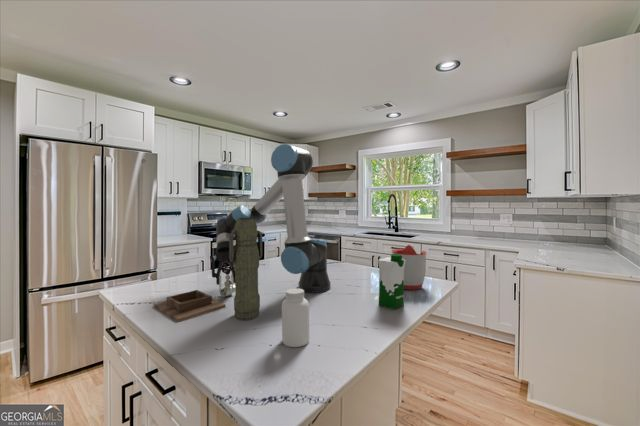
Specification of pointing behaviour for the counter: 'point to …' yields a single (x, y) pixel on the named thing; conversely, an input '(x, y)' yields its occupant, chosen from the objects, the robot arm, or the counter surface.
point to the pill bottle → (295, 318)
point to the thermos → (246, 268)
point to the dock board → (188, 305)
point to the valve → (227, 281)
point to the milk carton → (391, 281)
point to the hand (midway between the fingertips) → (226, 290)
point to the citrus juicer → (412, 267)
